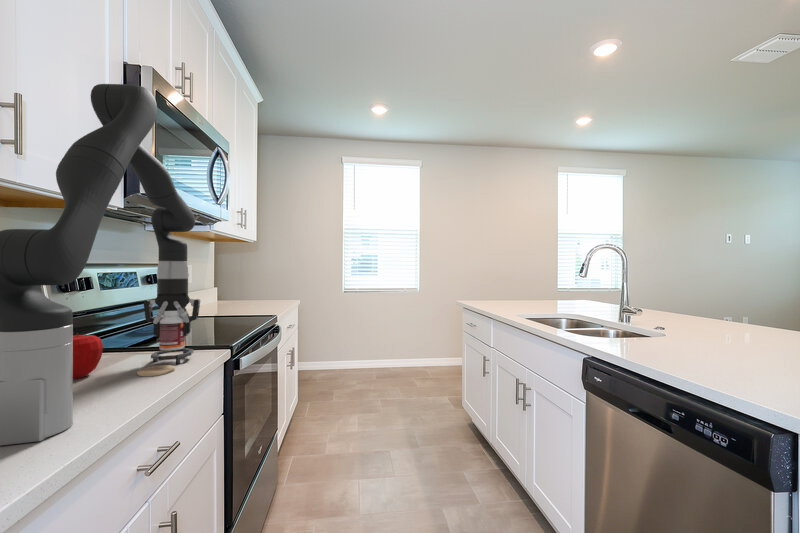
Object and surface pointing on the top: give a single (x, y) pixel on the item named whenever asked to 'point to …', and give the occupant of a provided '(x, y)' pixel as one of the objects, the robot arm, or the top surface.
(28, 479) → the top surface
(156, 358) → the ring stand
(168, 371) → the cork coaster
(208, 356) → the top surface
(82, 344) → the apple
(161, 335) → the pill bottle
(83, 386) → the top surface
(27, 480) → the top surface
